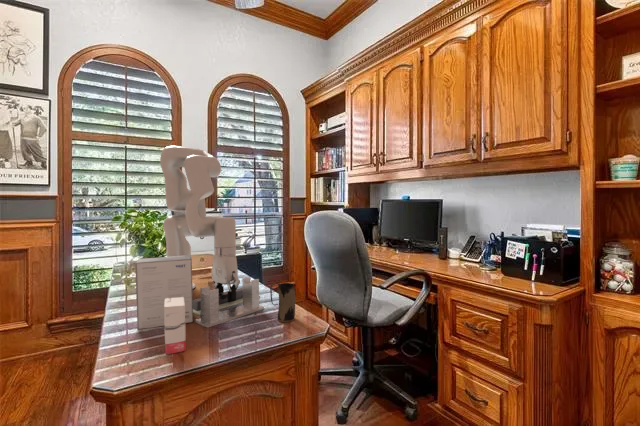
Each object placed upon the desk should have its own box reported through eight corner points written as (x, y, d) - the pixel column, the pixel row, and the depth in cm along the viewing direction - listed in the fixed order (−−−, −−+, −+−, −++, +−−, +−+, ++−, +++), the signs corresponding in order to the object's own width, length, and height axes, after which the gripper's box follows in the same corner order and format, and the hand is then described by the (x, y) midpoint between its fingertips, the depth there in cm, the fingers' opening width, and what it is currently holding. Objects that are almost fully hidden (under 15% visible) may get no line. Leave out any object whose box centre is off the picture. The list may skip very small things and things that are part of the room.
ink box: (186, 351, 82) (185, 305, 81) (164, 355, 80) (163, 307, 79) (184, 338, 90) (184, 295, 89) (165, 341, 88) (164, 297, 87)
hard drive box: (193, 314, 108) (192, 254, 107) (193, 322, 101) (192, 258, 100) (140, 320, 102) (138, 257, 102) (136, 330, 95) (134, 262, 94)
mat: (186, 310, 112) (186, 308, 112) (247, 293, 132) (247, 292, 132) (198, 315, 107) (198, 313, 107) (260, 297, 127) (260, 295, 127)
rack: (194, 322, 101) (194, 288, 101) (251, 304, 118) (251, 275, 118) (207, 327, 97) (206, 292, 96) (264, 308, 114) (264, 278, 113)
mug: (291, 315, 108) (291, 279, 107) (297, 320, 103) (297, 283, 102) (268, 318, 105) (268, 281, 104) (273, 324, 99) (273, 285, 99)
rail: (192, 309, 112) (192, 299, 111) (249, 293, 130) (248, 285, 130) (197, 311, 110) (197, 301, 110) (253, 295, 128) (253, 287, 128)
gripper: (202, 250, 122) (203, 297, 122) (230, 255, 111) (231, 307, 111) (220, 247, 127) (220, 293, 128) (248, 252, 116) (248, 301, 117)
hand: (225, 299), depth 120 cm, fingers open, 7 cm apart
